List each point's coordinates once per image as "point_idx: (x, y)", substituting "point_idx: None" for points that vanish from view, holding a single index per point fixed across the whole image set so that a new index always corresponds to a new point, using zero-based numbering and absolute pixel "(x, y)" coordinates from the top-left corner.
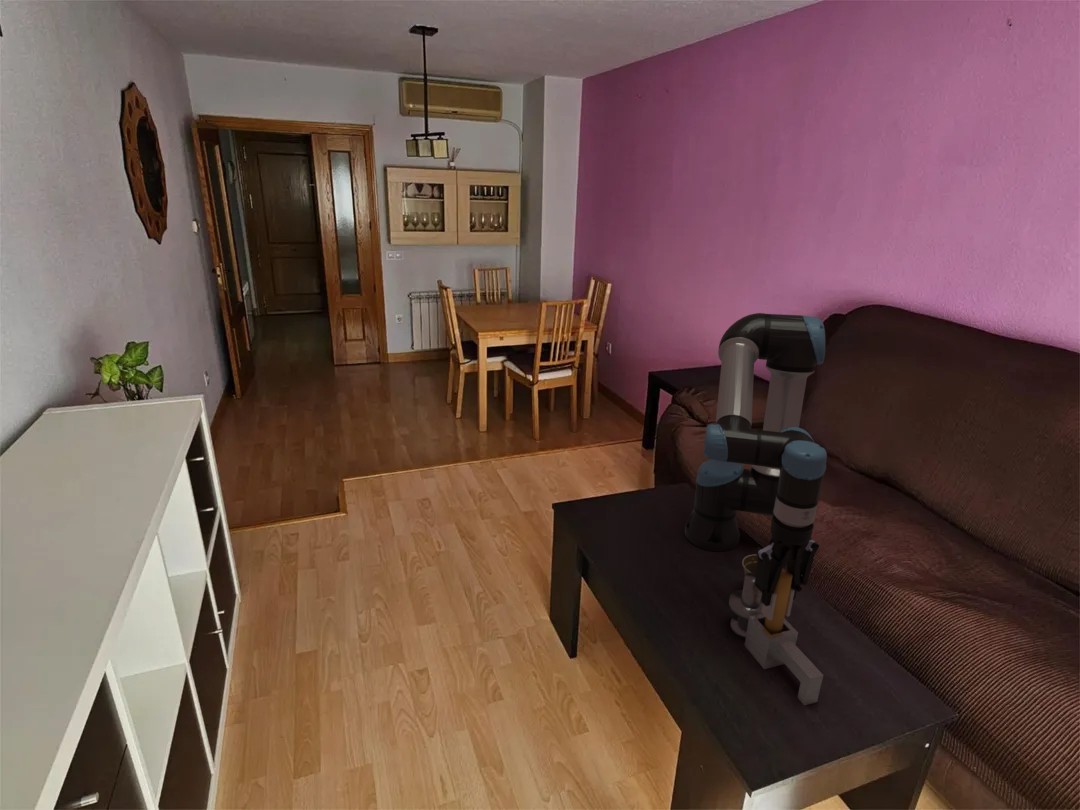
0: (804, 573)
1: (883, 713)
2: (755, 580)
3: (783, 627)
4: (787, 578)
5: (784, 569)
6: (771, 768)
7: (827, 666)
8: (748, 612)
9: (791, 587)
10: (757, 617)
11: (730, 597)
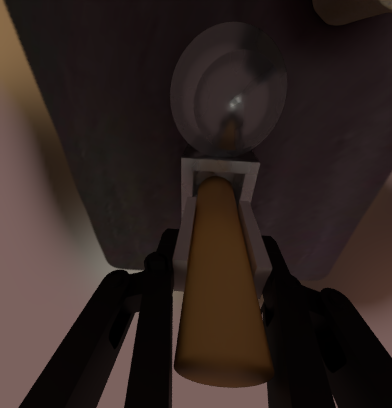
0: (333, 392)
1: None
2: (87, 304)
3: (238, 195)
4: (216, 384)
5: (264, 365)
6: (129, 265)
7: (275, 211)
8: (196, 134)
9: (263, 289)
10: (197, 167)
11: (185, 53)
